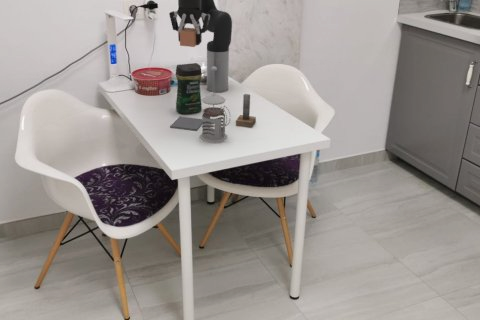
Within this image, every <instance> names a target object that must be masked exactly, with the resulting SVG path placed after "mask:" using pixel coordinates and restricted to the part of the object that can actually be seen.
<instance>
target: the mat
mask: <svg viewBox="0 0 480 320" xmlns="http://www.w3.org/2000/svg"><path fill="white" fill-rule="evenodd" d="M202 126H203V125H202V118H195V117H188V116H179V117H177V119H175V120H174V121H173V123H171V124H170V126H169V128H170V129H177V130H185V131H196V132H197V131H198V130H199V129H200V128H202Z"/></svg>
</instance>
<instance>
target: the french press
mask: <svg viewBox="0 0 480 320" xmlns="http://www.w3.org/2000/svg"><path fill="white" fill-rule="evenodd" d="M211 70H212V71H216V70H217V68H216V67H214V66H213V67H212V68H211ZM226 100H227V99H226V98H225V97H224V96H222V95H220V94H217V93H216V94H215V92H214V88H213V92H212V93H211V94H207V95H205V96H203V97H202V98H201V102H202V103H204V104H206V105H211V106H212V107H210V106H208V107H206V108H204V109H203V110H202V112H203V113H202V115H201V119H202V125H201V129H202V130H201V132H202V133H201V134H200V135H199V137H198V138H199V139H200V140H201V141H202V142H205V143H210V144H216V143H217V144H218V143H223V142H226V140H228V137H229V136H228V135H227V134H226V127H227V126H228V125H230V122H231V119H229V122H228V115H227V112H226V110H225V108H226V109H227V111H228V114H229V116H231V112H230V109H229V108H228V107H227V106H226V105H223V107H222V106H220V107H217V106H218V105H222V104H224V103H225V102H226ZM215 105H216V106H215ZM215 117H216V118H215Z"/></svg>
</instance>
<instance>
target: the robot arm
mask: <svg viewBox="0 0 480 320" xmlns="http://www.w3.org/2000/svg"><path fill="white" fill-rule="evenodd" d="M177 2H178V4H177V5H178V9H177V11H174V10H173V11H171V12H169V13H168V14H169V19H170V22H171V28H172V30H173V31H176V32H177V33H178V42H179V43H180V30H182V29H183V28H186V25H187V24H190V25H193V28H195V30H196V32H197V34H196V46H199V45H201V44H202V40H203V39H202V35H203V33H207V31H208V32H210V33H212V34H213V37H212V38H213V39H212V40H210V41H208V42H207V44H206V89H207V90H208V91H209V92H212V93H213V88H214V93H222V92H227V91H228V90H229V66H230V65H229V62H230V61H229V59H230V58H229V57H230V56H229V55H230V54H229V53H230V45H231V43H232V30H233V21H232V20H233V19H232V16H231V15H230V13H228V12H226V11H223V10H219V9H218V8H217V6H216V4H215V1H214V0H178V1H177ZM178 17H179V19H180V22H179V24H178ZM200 19H201V21H202V27H201V22H200ZM213 66H214V67H216V68H217V70H216V71H212V70H211V68H212V67H213ZM207 90H206V91H207Z"/></svg>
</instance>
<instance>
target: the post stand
mask: <svg viewBox="0 0 480 320" xmlns="http://www.w3.org/2000/svg"><path fill="white" fill-rule="evenodd" d="M250 108H251V94H248V93H245V94H243V101H242V114H240V115H238V117H237V118H236V120H235V126H236V127H244V128H253V127H254V125H255V124H256V120H257V118H256V117H257V116H252V115H250V112H251V111H250Z"/></svg>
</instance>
